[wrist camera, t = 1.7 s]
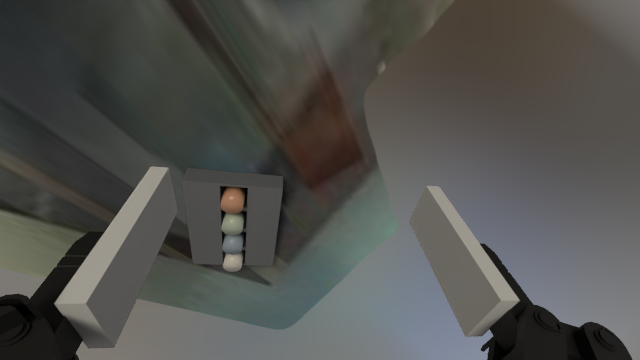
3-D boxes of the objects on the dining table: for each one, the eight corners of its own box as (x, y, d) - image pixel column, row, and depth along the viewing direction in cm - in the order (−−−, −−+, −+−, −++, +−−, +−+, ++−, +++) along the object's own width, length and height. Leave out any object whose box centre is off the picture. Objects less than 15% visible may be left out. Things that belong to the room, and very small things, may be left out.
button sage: (224, 221, 57) (221, 235, 54) (224, 207, 55) (221, 220, 52) (244, 223, 58) (242, 236, 55) (244, 209, 56) (242, 222, 53)
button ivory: (225, 258, 64) (223, 271, 61) (225, 247, 62) (222, 260, 59) (243, 258, 65) (241, 271, 62) (243, 247, 63) (241, 260, 60)
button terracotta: (224, 200, 54) (220, 213, 51) (223, 184, 52) (220, 196, 49) (245, 201, 55) (242, 214, 52) (245, 186, 52) (243, 198, 49)
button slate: (225, 241, 61) (222, 254, 58) (225, 228, 58) (221, 241, 56) (244, 241, 62) (241, 254, 59) (244, 229, 59) (242, 242, 56)
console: (197, 249, 66) (193, 263, 63) (187, 167, 52) (181, 180, 49) (273, 252, 69) (272, 266, 66) (283, 176, 55) (282, 188, 52)
